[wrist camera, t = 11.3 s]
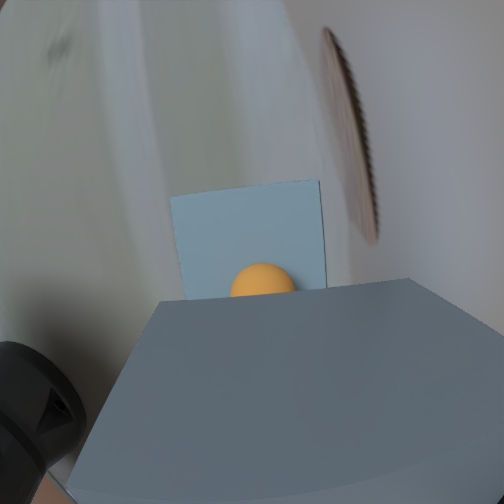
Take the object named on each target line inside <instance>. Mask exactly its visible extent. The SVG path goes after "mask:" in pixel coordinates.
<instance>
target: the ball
mask: <svg viewBox="0 0 504 504" xmlns="http://www.w3.org/2000/svg"><path fill="white" fill-rule="evenodd" d="M293 291H295V286H294V283H293V281H292V279H291V277H290V276H289V275H288V274H287V273H286V272H285V271H284V270H283V269H282V268H280V267H278V266H276V265H274V264H270V263H256V264H253V265H250V266H248V267H246V268H244V269H243V270H242V271H241V272H240V273H239V274H238V275H237V276H236V278H235V280H234V281H233V284H232V287H231V292H230V297H237V296H249V295H261V294H272V293H283V292H293Z"/></svg>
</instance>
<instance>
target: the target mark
mask: <svg viewBox="0 0 504 504" xmlns="http://www.w3.org/2000/svg"><path fill="white" fill-rule="evenodd" d="M169 198H170V206H171V213H172V220H173V227H174V233H175V240H176V246H177V252H178V258H179V264H180V270H181V276H182V281H183V287H184V292H185V298H186V300H197V299H211V298H224V297H230V292H231V287H232V284H233V281H234V280H235V278H236V276H237V275H238V274H239V273H240V272H241V271H242V270H243V269H244V268H246V267H248V266H250V265H253V264H256V263H270V264H274V265H276V266H278V267H280V268H282V269H283V270H284V271H285V272H286V273H287V274H288V275H289V276H290V277H291V279H292V281H293V283H294V286H295V291H303V290H313V289H322V288H326V271H325V255H324V240H323V227H322V215H321V203H320V193H319V183H318V180H307V181H296V182H286V183H276V184H267V185H258V186H249V187H241V188H232V189H225V190H217V191H209V192H202V193H195V194H188V195H181V196H175V197H169Z"/></svg>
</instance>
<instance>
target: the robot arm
mask: <svg viewBox="0 0 504 504" xmlns="http://www.w3.org/2000/svg"><path fill="white" fill-rule="evenodd" d="M85 427H86V416H85V411H84V408H83V405H82V403H81V401H80V399H79V397H78V395H77V393H76V391H75V390H74V388H73V387H72V385H71V384H70V383H69V381H68V380H67V379H66V378H65V376H64V375H63V374H62V373H61V372H60V371H59V370H58V369H57V368H56V367H55V366H54V365H53V364H52V363H51V362H49V361H48V360H47V359H46V358H44V357H43V356H42V355H40V354H39V353H37V352H36V351H34V350H32V349H31V348H29V347H27V346H24V345H22V344H19V343H15V342H10V341H4V342H0V504H30V503H31V502H32V500H33V497H34V495H35V493H36V491H37V489H38V487H39V485H40V483H41V480H42V478H43V476H44V475H45V473H46V471H47V470H48V469H49V468H50V467H51V466H53V465H54V464H55V463H57V462H58V461H59V460H60V459H62V458H63V457H64V456H66V455H67V454H68V453H69V452H71V451H72V450H73V449H74V448H75V447H76V446H77V445H78V443H79V441H80V439H81V437H82V435H83V433H84V431H85ZM497 504H504V495H503V497H502V498H501V499H500V501H499V502H498V503H497Z"/></svg>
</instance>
